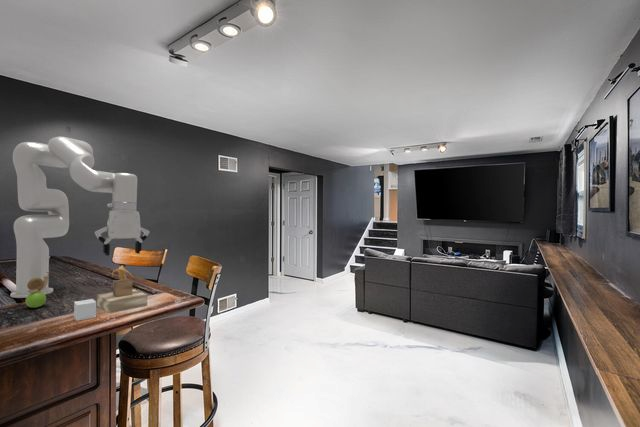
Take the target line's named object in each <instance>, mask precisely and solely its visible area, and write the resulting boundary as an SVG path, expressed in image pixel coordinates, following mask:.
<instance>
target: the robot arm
mask: <svg viewBox="0 0 640 427" xmlns="http://www.w3.org/2000/svg"><path fill="white" fill-rule="evenodd" d="M12 163H13V165H14V166H13V167H14V169H15V172H16V177H17V200H18V201H17V202H18V206H19V208H20V209H22V210H23V211H27V212H47V214H27V215H25V214H24V215H22V216H20V217H18V218H16V219H15V221H14V222H13V232H14V236H15V241H16V243H15V244H16V272H15V274H16V277H15V278H16V282H15V291H12V292H11V293H10V297H11V298H15V299H24V298H25V299H26V298H27V296H28V295H29V294H31V293H29V292H28V290H30V289H28V287H27V284H28V282H29V281H30V280H31V279H33V278H40V279H42V280H43V281H44V276H45V275H48V273H46V272H47V271H48V272H49V273H50V269H49V268H50V267H49V266H50V264H49V262H50V249H49V246H48V244H47V242H45V240H44V239H49V238H59V237H63V236H66V234H67V233H68V231H69V228H70V214H69V213H70V210H69V208H70V207H69V199H68V197H67V194H66V193H65V192H63V191H62V190H60V189H57V188H48V187H47V177H46V174H45V173H44V172H43V170H42V168H40V167H39V166H46V167H51V168H53V167H54V168H61V169H62V168H63V169H66V168H67V169H68V168H69V174H70V177H71V179H72V180H73V181H74V182H75V183H76V184H77V185H78V186H80V187H81V188H82V189H84V190H85V191H89V192H93V193H106V194H108V193H109V194H112V198H111V199H112V200H111V202H109V203H107V205H106V207H107V208H110V209H111V210H109V213H108V218H107V223H106V226H104V227H102V228H100V229H98V230H96V231H94V234H95V236H96V238H97V239H98V241H100V242H101V243H102V244H103V247H102V248H103V249H102V253H103V254H104V256H107V257H110V253H111V252H110V250H111V248H110V246H111V244H110V242H111V241H112V240H125V239H127V240H128V239H134V240H135V241H136V242H135V245H134V248H135V249H134V253H135V254H139V255H140V253H141V252H142V243H143V242H144V241H145V240H146V239H147V238H148V236H149V234H150V230H149V229H146V228H144V227H142V226H141V218H140V217H141V216H140V211H137V200H138V199H137V197H138V176H137V175H136V174H134V173H127V172H117V173H116V172H115V173H114V172H109V171H103V170H102V171H101V170H95V169H92V168H93V167H94V165H95V157H94V150H93V147H92V145H91V144H89V143H88V142H86V141H84V140H80V139H75V138H71V137H66V136H54V137H52V138H50V139H49V141H48V143H47V144H46V143H41V142H35V141H24V142H20V143H19V144H17V145H16V146H15V148H14V149H13V152H12ZM105 232H106V237H105V238H104V237H103V236H102V234H103V233H105ZM141 233H143V235H142V236H141ZM40 292H42V293H44V294H45V295H50V294H52V293H53V292H54V288H53V287H49V281H48V282H47V285H46V287H45V288H44V289H43V290H42V291H40Z"/></svg>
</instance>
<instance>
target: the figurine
mask: <svg viewBox="0 0 640 427" xmlns="http://www.w3.org/2000/svg"><path fill="white" fill-rule="evenodd" d="M115 272H117V273H118V275H117V276H118V278H119V280H123V279H128V277H127V276H126V274H124V273H128V275H129V276H131V277H132V278H134V277H133V275H132V274H131V273H130V271H128V270H126V269H125V268H124V265H121V266H120V267H118V268H116V269H115V270H112V273H111V277H112V278H114V276H115V275H114V274H115Z"/></svg>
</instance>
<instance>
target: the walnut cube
mask: <svg viewBox="0 0 640 427" xmlns="http://www.w3.org/2000/svg"><path fill="white" fill-rule="evenodd" d="M133 283H134V282H133V280H132V279H130V278H127V279H124V278H122V280H121V279H118V280H116V279H114V280H113V282H112V292H113V295H114V296H115V297H122V296H128V295H132V289H133V286H134V285H133Z"/></svg>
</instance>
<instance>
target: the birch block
mask: <svg viewBox="0 0 640 427" xmlns="http://www.w3.org/2000/svg"><path fill="white" fill-rule="evenodd" d="M96 297H97V298H96V307H98V308H100V309H102V310H104V311H105V312H108V313H109V314H112V313H113V314H114V313H116V312H117V313H118V312H121V311H128V310H130V309H131V310H132V309H137V308H141V307H146V306H148V294H147V293H145V292H142V291H141V290H137V289H134V288H132V295H128V296H122V297H115V296H114V295H113V291H112V292H111V291H110V292H107V293H100V294H97V295H96Z"/></svg>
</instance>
